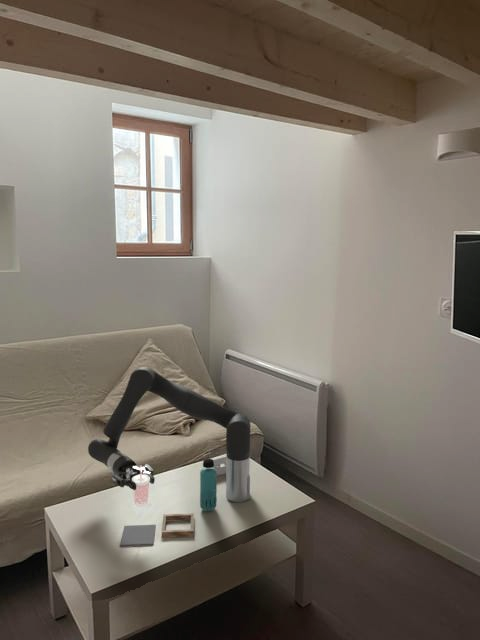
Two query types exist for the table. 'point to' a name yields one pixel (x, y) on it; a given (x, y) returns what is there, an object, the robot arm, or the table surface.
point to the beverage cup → (141, 489)
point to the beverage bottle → (208, 485)
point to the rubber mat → (138, 535)
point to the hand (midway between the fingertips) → (144, 484)
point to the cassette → (217, 466)
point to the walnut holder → (177, 532)
